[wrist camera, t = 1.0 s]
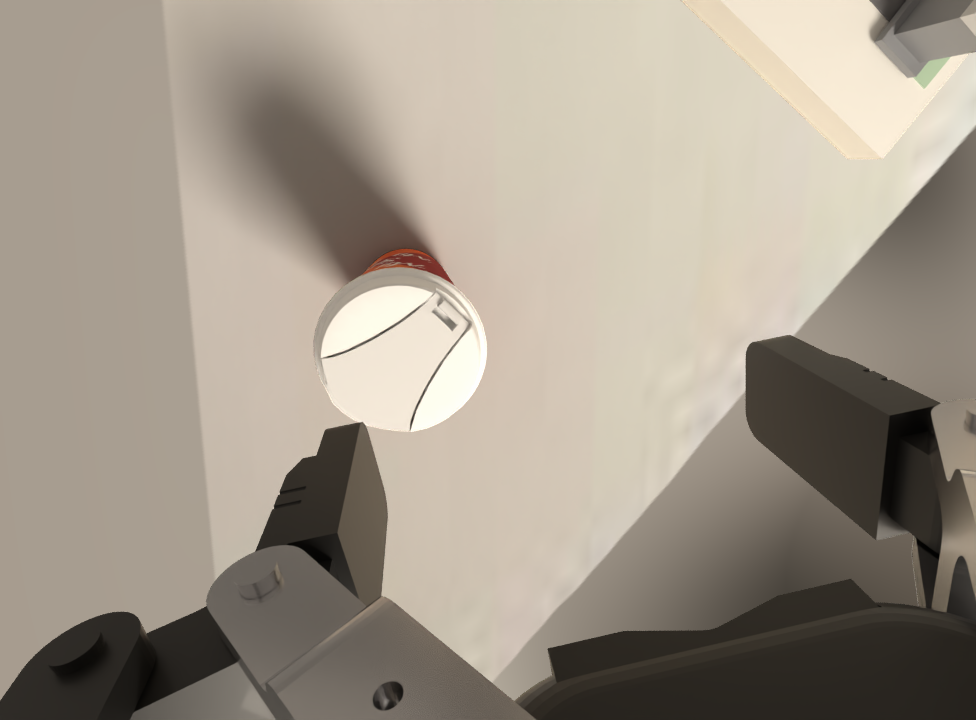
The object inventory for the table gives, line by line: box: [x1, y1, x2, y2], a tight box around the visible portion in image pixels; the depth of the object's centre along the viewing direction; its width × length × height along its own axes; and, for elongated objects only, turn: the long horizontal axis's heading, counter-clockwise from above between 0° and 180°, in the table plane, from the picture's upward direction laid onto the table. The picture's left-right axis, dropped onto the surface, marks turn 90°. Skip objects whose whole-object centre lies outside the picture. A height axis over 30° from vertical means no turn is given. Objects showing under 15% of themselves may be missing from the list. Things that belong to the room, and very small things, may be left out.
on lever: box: [874, 0, 976, 78], centre depth 29 cm, size 4×3×6 cm
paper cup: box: [314, 249, 487, 432], centre depth 30 cm, size 8×8×14 cm
